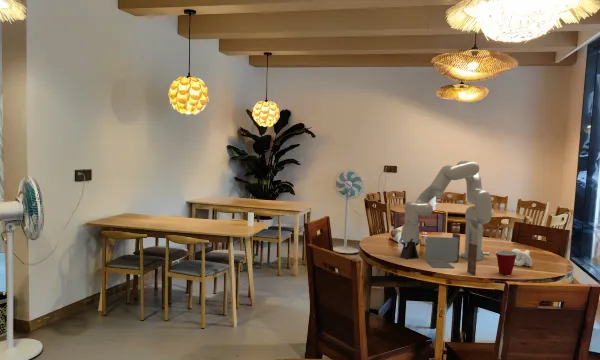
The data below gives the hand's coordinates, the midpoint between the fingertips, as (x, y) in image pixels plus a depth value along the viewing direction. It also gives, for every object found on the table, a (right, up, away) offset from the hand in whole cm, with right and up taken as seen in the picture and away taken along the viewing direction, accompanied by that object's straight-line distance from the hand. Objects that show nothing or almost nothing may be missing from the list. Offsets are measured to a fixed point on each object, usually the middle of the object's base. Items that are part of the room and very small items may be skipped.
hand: (409, 253), depth 263 cm
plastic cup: (+43, -6, -30) cm, 53 cm away
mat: (+13, -4, -16) cm, 21 cm away
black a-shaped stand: (0, -3, 0) cm, 3 cm away
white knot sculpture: (+63, -6, -8) cm, 63 cm away
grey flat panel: (+16, -3, -8) cm, 18 cm away
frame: (+25, -5, -17) cm, 31 cm away
